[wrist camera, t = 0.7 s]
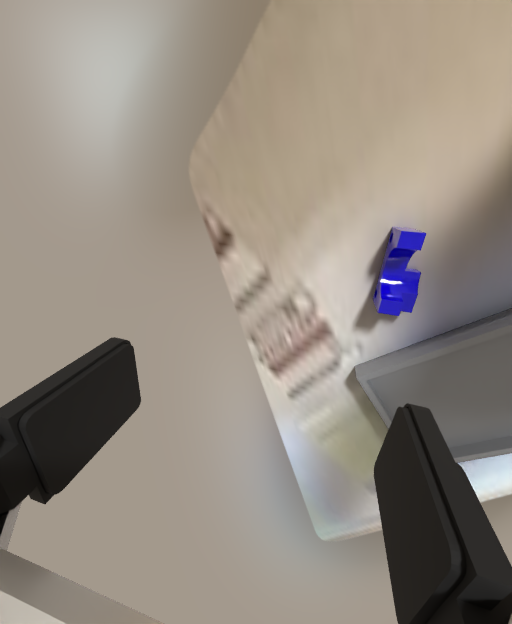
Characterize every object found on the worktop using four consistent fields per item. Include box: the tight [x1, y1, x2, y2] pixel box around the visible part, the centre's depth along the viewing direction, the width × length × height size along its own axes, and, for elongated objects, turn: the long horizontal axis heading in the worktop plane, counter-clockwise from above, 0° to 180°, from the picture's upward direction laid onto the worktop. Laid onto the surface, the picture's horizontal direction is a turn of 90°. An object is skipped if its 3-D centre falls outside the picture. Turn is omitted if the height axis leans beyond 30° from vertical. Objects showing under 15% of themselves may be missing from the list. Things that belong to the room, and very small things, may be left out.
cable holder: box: [373, 227, 426, 316], centre depth 26 cm, size 8×4×4 cm, turn 175°
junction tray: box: [355, 308, 512, 463], centre depth 30 cm, size 20×16×2 cm
